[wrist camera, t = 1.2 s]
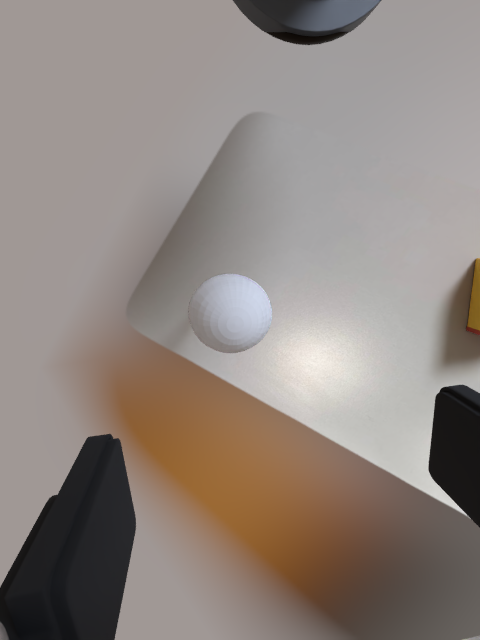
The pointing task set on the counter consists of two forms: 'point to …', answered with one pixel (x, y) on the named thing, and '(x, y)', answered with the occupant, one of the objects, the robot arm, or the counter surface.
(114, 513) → the robot arm
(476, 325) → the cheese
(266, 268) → the counter surface
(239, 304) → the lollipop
